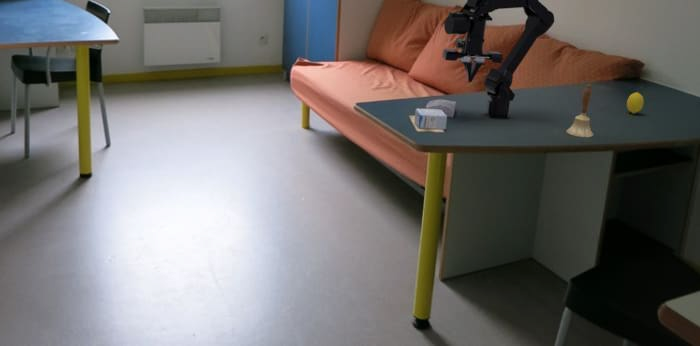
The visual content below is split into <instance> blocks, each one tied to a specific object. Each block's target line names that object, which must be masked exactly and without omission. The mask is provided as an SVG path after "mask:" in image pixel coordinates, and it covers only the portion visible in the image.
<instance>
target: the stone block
mask: <svg viewBox="0 0 700 346" xmlns="http://www.w3.org/2000/svg"><path fill="white" fill-rule="evenodd" d="M456 106H457V102H456V101H453V100H447V99H440V98H439V99H433V100H430V101H428V102H427V104H426V106H425V109H440V110H442V111H443V112H444V113H445V115H446V116H447V118H454V116H455V113H456V112H455V111H456Z"/></svg>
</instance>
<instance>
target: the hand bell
mask: <svg viewBox="0 0 700 346" xmlns="http://www.w3.org/2000/svg"><path fill="white" fill-rule="evenodd" d="M592 95H593V93H592V85H591V84H586V85H585V88H584V90H583V92H582V99H581V100H582V107H581V111H580V114H579V115H577V116H575V118H574V121H573V122H572V125H571V126H570V127H569V128H568V129H566V131H565V132H566V134H568V135H571V136H573V137H577V138H589V139H590V138H592V137H594V133H593V132H592V131H591V127H590V126H591V124H590V122H591V118H590V117H589V116H587V112H588V106H589V103H590V101H591V98H592Z"/></svg>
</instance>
